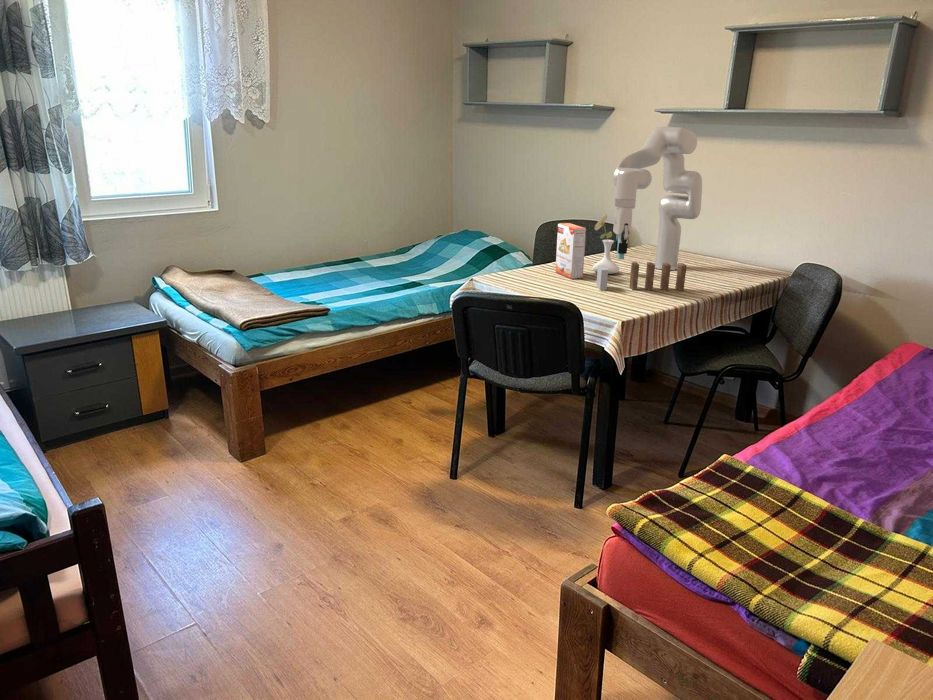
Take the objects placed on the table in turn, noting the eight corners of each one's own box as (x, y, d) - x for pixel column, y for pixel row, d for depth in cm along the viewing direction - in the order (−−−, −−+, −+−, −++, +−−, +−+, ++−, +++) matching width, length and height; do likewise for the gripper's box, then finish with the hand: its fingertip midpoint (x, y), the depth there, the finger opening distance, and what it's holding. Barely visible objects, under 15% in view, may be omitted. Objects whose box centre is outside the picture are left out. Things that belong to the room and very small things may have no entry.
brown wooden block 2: (678, 291, 275) (681, 265, 272) (675, 288, 280) (678, 262, 277) (683, 291, 275) (686, 265, 272) (679, 288, 280) (682, 262, 277)
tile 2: (663, 290, 275) (666, 265, 272) (659, 287, 280) (662, 262, 276) (668, 290, 275) (670, 265, 272) (664, 287, 280) (667, 262, 276)
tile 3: (647, 290, 275) (650, 264, 272) (644, 287, 280) (647, 262, 276) (652, 290, 275) (655, 265, 272) (649, 287, 280) (651, 262, 276)
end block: (596, 285, 281) (597, 265, 278) (602, 285, 281) (604, 265, 278) (599, 290, 273) (601, 270, 271) (606, 290, 273) (608, 270, 271)
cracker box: (554, 272, 303) (557, 223, 296) (567, 271, 305) (570, 222, 298) (570, 279, 291) (573, 228, 284) (583, 278, 293) (586, 227, 286)
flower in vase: (605, 269, 312) (610, 211, 304) (624, 274, 303) (630, 214, 295) (583, 272, 305) (587, 213, 297) (602, 277, 296) (607, 216, 288)
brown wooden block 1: (632, 290, 275) (634, 264, 272) (629, 287, 279) (631, 262, 276) (636, 290, 275) (639, 264, 272) (633, 287, 280) (636, 262, 276)
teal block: (621, 256, 276) (623, 230, 272) (623, 259, 271) (626, 232, 268) (616, 256, 276) (618, 230, 272) (619, 259, 271) (621, 232, 268)
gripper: (610, 201, 275) (606, 248, 281) (619, 206, 259) (615, 256, 264) (630, 201, 275) (625, 248, 281) (640, 206, 259) (635, 256, 264)
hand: (620, 251), depth 272 cm, fingers closed on teal block, 4 cm apart
